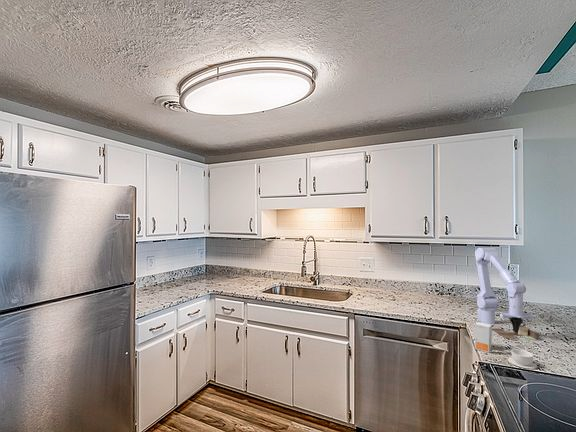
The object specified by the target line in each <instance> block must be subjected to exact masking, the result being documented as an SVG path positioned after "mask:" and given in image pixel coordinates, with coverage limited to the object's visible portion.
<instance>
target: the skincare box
mask: <svg viewBox="0 0 576 432" xmlns="http://www.w3.org/2000/svg"><path fill="white" fill-rule="evenodd" d="M492 329H493V324H486V323H482V322H481V321H480V322H479V321H476V323H475V324H474V350H477V351H481V352H485V353H487V354H490V352H491V351H492V341H493V340H492V338H493V337H492V336H493V335H492V334H493V333H492V332H493V330H492Z"/></svg>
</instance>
